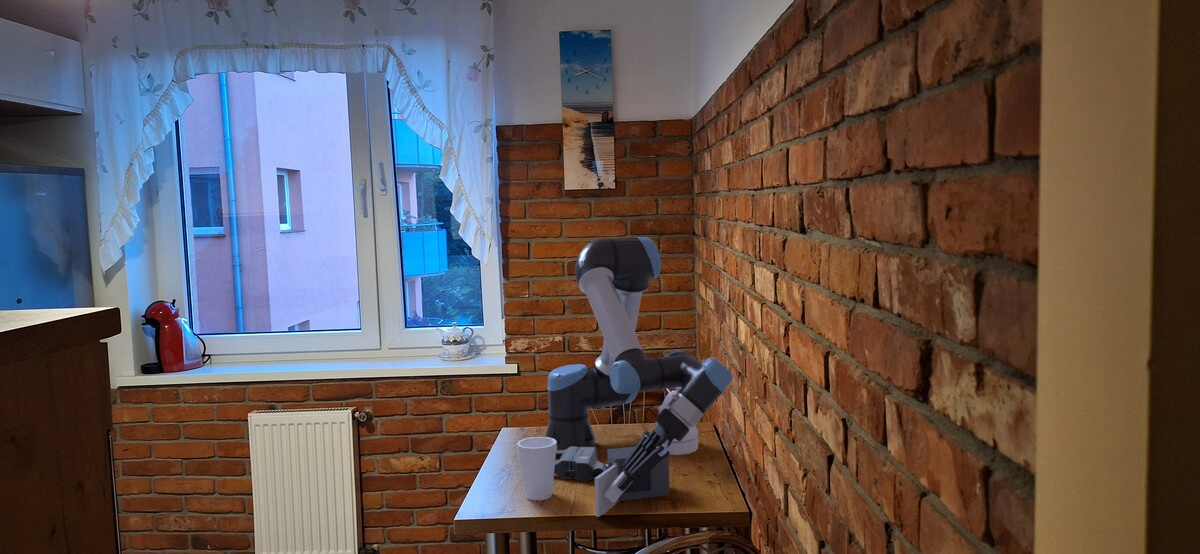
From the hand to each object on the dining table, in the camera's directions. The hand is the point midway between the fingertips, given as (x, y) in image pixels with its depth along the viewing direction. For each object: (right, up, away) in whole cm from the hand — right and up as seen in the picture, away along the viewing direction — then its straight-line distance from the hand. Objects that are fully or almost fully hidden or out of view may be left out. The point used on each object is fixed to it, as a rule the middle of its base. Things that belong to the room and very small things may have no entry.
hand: (608, 498), depth 161 cm
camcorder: (-9, -3, +31) cm, 32 cm away
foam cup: (-17, -4, +14) cm, 22 cm away
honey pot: (+20, 0, +48) cm, 52 cm away
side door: (0, -3, +4) cm, 5 cm away
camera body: (+7, -3, +14) cm, 16 cm away
